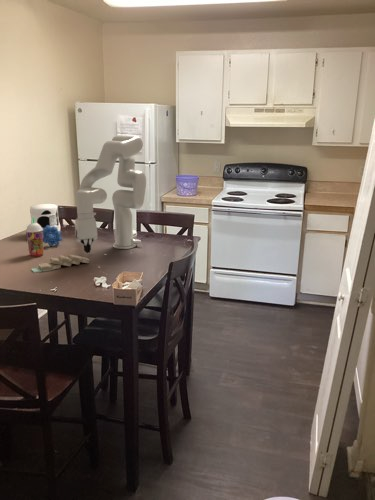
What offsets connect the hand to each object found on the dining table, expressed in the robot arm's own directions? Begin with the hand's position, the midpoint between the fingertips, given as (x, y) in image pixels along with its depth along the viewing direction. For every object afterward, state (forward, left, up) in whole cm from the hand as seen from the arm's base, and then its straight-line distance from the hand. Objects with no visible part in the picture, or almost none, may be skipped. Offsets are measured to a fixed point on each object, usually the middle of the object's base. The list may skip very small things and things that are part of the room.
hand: (87, 252), depth 215 cm
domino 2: (+13, +7, -4) cm, 15 cm away
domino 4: (+4, +3, -4) cm, 7 cm away
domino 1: (+15, +9, -6) cm, 19 cm away
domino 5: (0, 0, -4) cm, 4 cm away
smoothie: (+28, -12, -5) cm, 31 cm away
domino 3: (+8, +5, -4) cm, 10 cm away
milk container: (+33, -52, -5) cm, 62 cm away
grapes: (+24, -28, -5) cm, 37 cm away
